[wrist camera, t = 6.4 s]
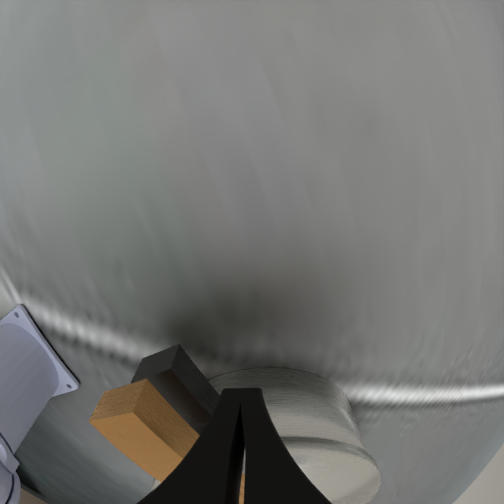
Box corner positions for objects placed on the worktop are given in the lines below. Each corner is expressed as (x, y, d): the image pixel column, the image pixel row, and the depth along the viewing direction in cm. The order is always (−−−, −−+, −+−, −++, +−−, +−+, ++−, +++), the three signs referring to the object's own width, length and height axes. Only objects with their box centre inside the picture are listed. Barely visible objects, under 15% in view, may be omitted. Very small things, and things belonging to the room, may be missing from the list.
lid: (388, 491, 15) (398, 519, 12) (227, 532, 17) (226, 557, 14) (298, 299, 10) (315, 348, 7) (46, 396, 12) (21, 430, 9)
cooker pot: (372, 453, 22) (389, 499, 16) (245, 492, 24) (245, 537, 18) (282, 267, 16) (299, 323, 10) (98, 352, 18) (60, 407, 12)
